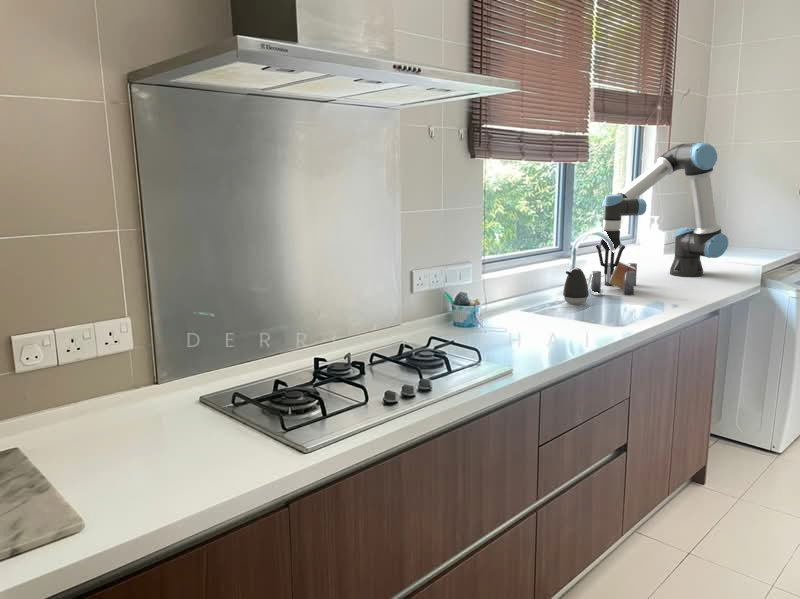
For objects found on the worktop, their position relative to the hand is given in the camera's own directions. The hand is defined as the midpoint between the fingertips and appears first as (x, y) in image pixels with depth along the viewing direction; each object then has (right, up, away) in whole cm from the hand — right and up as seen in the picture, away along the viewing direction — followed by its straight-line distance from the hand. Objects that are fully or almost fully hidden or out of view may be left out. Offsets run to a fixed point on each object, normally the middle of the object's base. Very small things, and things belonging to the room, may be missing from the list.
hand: (607, 281), depth 290 cm
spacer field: (+3, -4, 0) cm, 5 cm away
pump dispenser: (-21, -10, -24) cm, 33 cm away
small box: (+4, -2, 0) cm, 5 cm away
